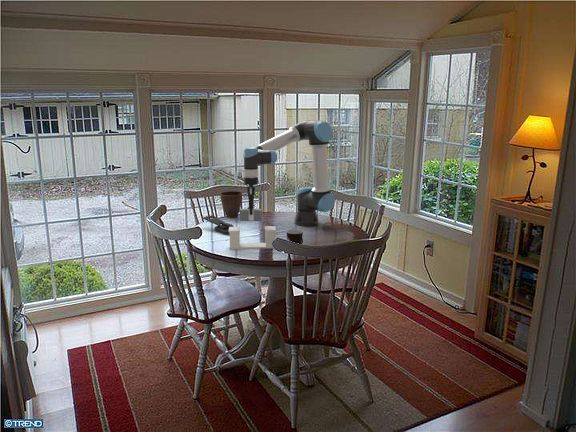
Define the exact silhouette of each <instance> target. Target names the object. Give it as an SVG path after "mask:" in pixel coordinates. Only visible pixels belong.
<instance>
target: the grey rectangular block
mask: <svg viewBox="0 0 576 432" xmlns="http://www.w3.org/2000/svg"><path fill="white" fill-rule="evenodd" d="M262 220H263V208H254V220H249V209H247V208H240V211H239V222H263V221H262Z"/></svg>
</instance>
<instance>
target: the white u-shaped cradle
mask: <svg viewBox="0 0 576 432" xmlns="http://www.w3.org/2000/svg"><path fill="white" fill-rule="evenodd" d="M240 231H241V226H234V227H229V233H230V235H229V249H230V250H241V249H242V250H249V249H253V250H254V249H256V250H257V249H259V250H260V249H274V248H273V247H272V242H273V240H274V239H275V240H276V233H277V229H276V225H275V226H274V225H273V226H271V225H269V226H268V225H264V232H265V237H264V238H265V242H241V235H240V234H241V232H240Z"/></svg>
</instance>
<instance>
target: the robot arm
mask: <svg viewBox="0 0 576 432" xmlns="http://www.w3.org/2000/svg"><path fill="white" fill-rule="evenodd" d="M333 133H334V132H333V127H332V125H331V124H330V123H329V122H327V121H323V120H311V119H308V120H304V121H301V122H298V123H296V124H294V125H292V126H290V127H289V128H288V130H286V131H284V132H282V133H280V134H277V135H276V136H274V137H272V138H269V139H267V140H266V141H264V142H262V143H260V144H258V145H255V146H254V147H252V146H251V147H245V148H244V149H243V153H242V156H243V170H242V173H243V176H244V177H243V183H244V185H245V186H247V185H248V187H247V188H246V190H247V196H248V207H247V208H246V209H249V220H254V209H255V207H256V204H255V202H254V200H255V199H254V197H255V191H256V187H255V186H254V185H258V184H259V177H258V176H259V166H261V165H273V164H275V163H277V161H278V153H277V151H279V150H281V149H283V148H285V147H286V146H288V145H289V146H290V144H292V143H297V142H300V141H308V145H309V146H310V147H311V155H312V157H311V158H312V161H311V162H312V178H313V186H305V187H300V188H298V189H297V193H296V196H297V197H296V199H297V202H296V203H297V205H296V206H297V211H296V214H295V217H294V224H295V225H297V226H302V227H312V226H316V225H318V224H319V216H318V214H317V211H318V212H322V213H328V212H330V211H331V210H332V209H333V207H334V206H335V203H336V197H335V195H334V194H332V193H331V191H332V190H331V187H329V179H328V177H329V175H328V155H327V153H328V151H327V146H329V144H330V141H331V139H332V138H333Z"/></svg>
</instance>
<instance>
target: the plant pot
mask: <svg viewBox="0 0 576 432" xmlns="http://www.w3.org/2000/svg"><path fill="white" fill-rule="evenodd" d="M243 194H244V193H243V192H242V191H238V190H237V191H231V190H230V191H224V192H223V191H222V192H220V193H219V196H220V197H219V198H220V202H221V206H222V208H223V212H224V214H225V216H226V218H227V217H228V219H234V218H235V217H236V218H238V217H239V215H240V209H241V207H242V202H243Z"/></svg>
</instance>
